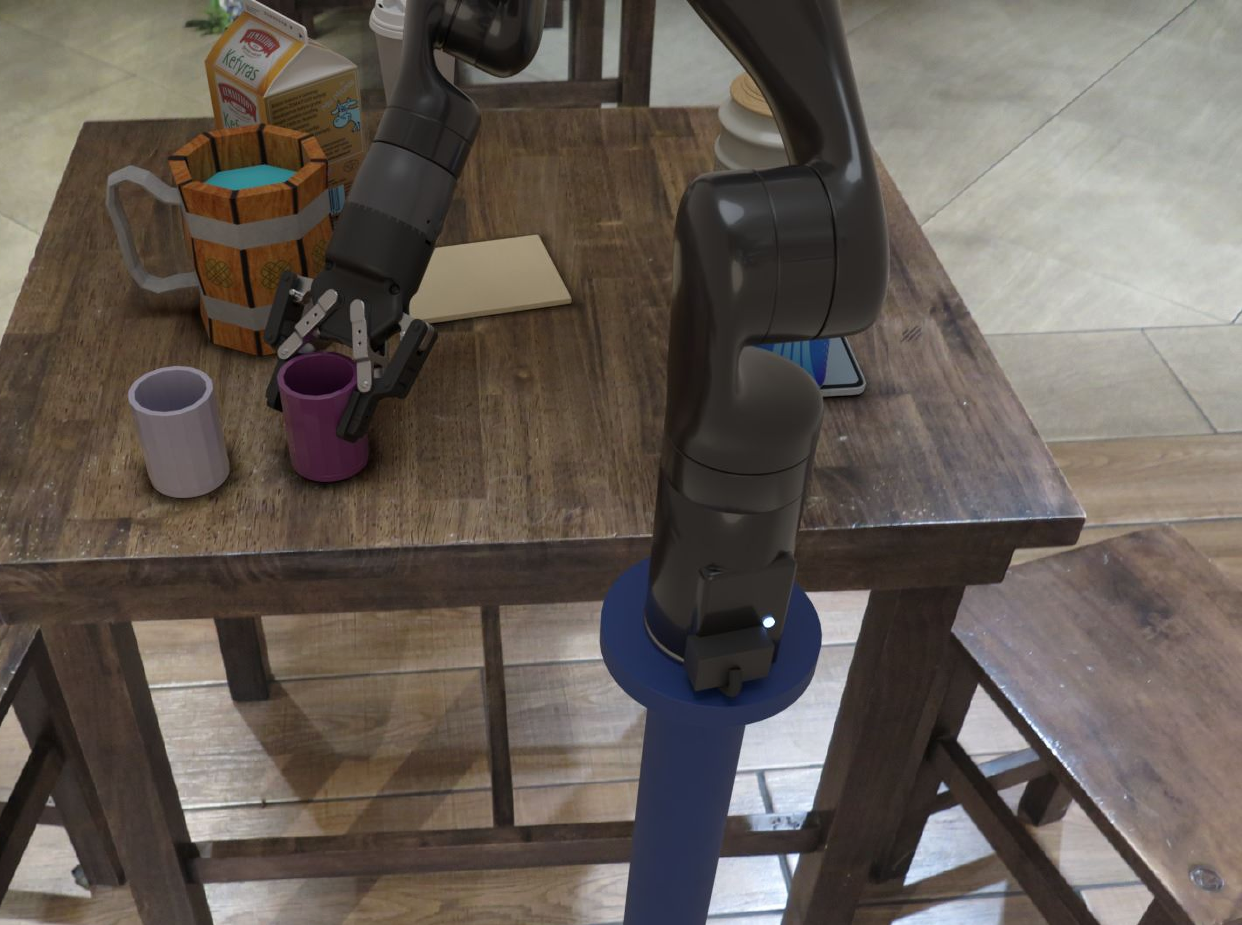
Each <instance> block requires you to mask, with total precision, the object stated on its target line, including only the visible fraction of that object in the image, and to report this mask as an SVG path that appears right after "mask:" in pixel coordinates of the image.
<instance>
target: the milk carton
mask: <svg viewBox="0 0 1242 925" xmlns="http://www.w3.org/2000/svg"><path fill="white" fill-rule="evenodd" d="M242 3H243V9H244V10H243V11H242V13H241V14H240V15H239V16H238V17H237V18H235V20H234V21H233V22H232V23H231V24H230V25H229V26H228V27H227V29H225V31H224V32H223V33H222V34H221V36H220V37H219V38H218V39H217V40H216V42H215V43H214V45H213V46H212V48H211V49H210V51H209V53H208V54H207V56H206V57H205V59H204V67H205V73H206V80H207V84H208V90H209V95H210V100H211V108H212V113H213V118H214V124H215V131H216V130H222V129H229V128H235V127H241V126H247V125H254V124H260V123H264V124H268V125H273V126H278V127H282V128H287V129H291V130H296V131H300V132H305V133H309V134H313V135H314V137H315V138H316V140H317V142H318V144H319V145H320V147H321V149H322V151H323V153H324V154H325V156H326V158H327V160H328V195H329V203H330V212H331V217H332V218H334V217H337V216H339V215H340V213H341V210H342V208H343V205H344V203H345V200H346V198H347V195H348V193H349V190H350V188H351V185H352V183H353V180H354V178H355V175H356V173H357V171H358V168H359V167H360V165H361V163H362V161H363V159H364V158H365V156H366V154H367V152H366V143H365V142H366V141H365V133H364V132H365V131H364V120H363V110H362V100H361V88H360V76H359V67H358V66H357V65H356V64H355V63H354V62H352V61H351V60H350V59H349V58H347V57H345V56H343V55H342V54H340V53H338V52H337V51H334V50H333V49H331V48H329V47H327V46H325V45H323V44H321V43H320V42H318V41H316V40H314V39H312V38H311V37H309V35H308V30H307V28H306V26H304V25H302V24H300V23H299V22H297V21H295V20H293V19H291V18H289V17H287V16H285V15H283V14H282V13H280V12H278V11H276V10H275V9H272V8H271V7H269V6H267V5H265V4H264V3H261V2H259V1H257V0H242Z"/></svg>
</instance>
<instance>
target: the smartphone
mask: <svg viewBox="0 0 1242 925" xmlns="http://www.w3.org/2000/svg"><path fill="white" fill-rule="evenodd" d="M848 340H849V339H848V338H847V336H846V337H840V338H831V339H830V344H829V352H828V360H827V368H826V376H825V380H824V383H823V385H822V386H821V388H820V390H821V393H822V396H823V397H837V396H838V397H839V396H840V397H841V396H856V395H860V394H862V393H863V392H864V391H865V389H866V385H867V381H866V379H865V376H864V374H863V372H862V369H861V367H860V365H859V363H858V361H857V358H856V356H855V354H854V351H853V349H852V346H851V345H850V342H849V341H848Z"/></svg>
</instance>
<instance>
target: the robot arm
mask: <svg viewBox="0 0 1242 925" xmlns="http://www.w3.org/2000/svg"><path fill="white" fill-rule="evenodd" d="M686 2H687V3H688V5H689V6H690V7H691V8H692V10H693V11H694V12H695V13H696V14H697V16H698V17H699V18H700V19H701V21H702V23H704V24H705V26H707V27H708V29H709V30H710V31H711V32H712V34H713V35H714V36H715V37H716V38H717V39H718V40H719V42H720V43H721V44H722V45H723V46H724V47H725V48H726V50H727V51H728V52H729V53H730V54H731V55H732V56H733V58H734V59H735V60H736V61H737V62H738V63H739V65H741V67H742V68H743V70H744V72H747V73H748V75H749V76H750V77H751V78H752V80H753V81H754V83H755V84H756V86H757V87H758V89H759V90H760V92H761V93H762V95H763V97H764V99H765V101H766V102H767V104H768V106H769V108H770V110H771V113H772V115H773V117H774V119H775V122H776V124H777V127H778V130H779V133H780V135H781V138H782V142H783V145H784V148H785V151H786V154H787V158H788V162H789V165H787V166H774V167H761V168H749V169H736V170H724V171H715V172H713V171H709V172H705V173H701V174H699V175H697V176H696V177H694V178H693V179H692V180H691V181H690V182H689V184H688V185H687V186H686V188H685V190H684V191H683V194H682V196H681V197H680V201H679V205H678V208H677V211H676V218H675V224H674V230H673V244H672V258H671V259H672V262H671V264H672V265H671V298H670V299H671V300H670V301H671V303H670V321H669V322H670V324H669V337H668V349H667V362H666V363H667V364H666V401H665V411H664V420H663V421H664V422H663V431H662V441H661V451H660V457H659V468H658V479H657V487H656V497H655V506H654V510H655V511H654V518H653V527H652V538H651V548H650V556H649V557H650V566H649V576H648V589H647V599H646V602H645V606H644V613H643V623H644V628H645V631H646V634H647V636H648V638H649V640H650V641H651V643H652V644H653V645H654V646H655V648H656V649H657V650H658V651H659V652H660V653H662V654H663V655H664V656H665V657H667V658H668V659H670V660H672V661H673V662H675V663H677V664H679V665H681V666H684V669H685V671H686V673H687V675H688V677H689V679H690V682H691V684H692V686H693V688H694V690H695V691H699V690H704V689H709V688H714V687H717V688H718V690H719V691H721V692H722V693H724V694H725V695H727V696H730V697H734V696H736V695H738V694H739V692H740V690H741V686H742V682H744V681H749V680H754V679H759V678H764V677H768V675H769V670H770V666H771V664H772V663H775V662H776V661H777V656H778V652H779V647H780V643H781V638H782V633H783V629H784V624H785V619H786V615H787V610H788V605H789V601H790V596H791V592H792V587H793V582H795V577H796V573H797V568H798V561H797V559H796V558H795V551H796V546H797V543H798V542H797V541H798V537H799V532H800V528H801V527H800V526H801V523H802V522H801V521H802V517H803V513H804V508H805V504H806V498H807V492H808V488H809V484H810V481H811V475H812V471H813V466H814V460H815V457H816V451H817V447H818V443H819V440H820V434H821V430H822V429H821V428H822V426H823V420H824V413H825V405H824V396H822V393H821V390H820V388H819V386H818V385H817V383H816V381H815V380H814V379H813V377H812V376H811V375H810V374H809V373H808V372H807V371H806V370H805V369H803V368H802V367H801V366H800V365H798V364H797V363H795V362H793V361H792V360H790V359H788V358H786V357H784V356H782V355H780V354H777V353H774V352H772V351H769V350H766V349H762V348H759V347H755V346H758V345H769V344H780V343H790V342H801V341H811V340H822V339H831V338H840V337H846V338H847V337H850V336H854V335H855V336H856V335H858V334H859V335H860V334H862V333H863V332H866V331H867V330H868V329H870V328H871V327H873V325H874V324H875V323H876V321H877V320H878V319H879V317H880V315H881V314H882V311H883V308H884V306H885V303H886V298H887V295H888V290H889V284H890V268H891V267H890V266H891V264H890V261H891V260H890V259H891V258H890V256H891V254H890V252H891V250H890V236H889V228H888V222H887V214H886V213H887V212H886V207H885V202H884V196H883V192H882V187H881V182H880V178H879V173H878V169H877V165H876V160H875V156H874V151H873V147H872V143H871V139H870V135H869V131H868V127H867V123H866V122H867V121H866V117H865V114H864V109H863V105H862V102H861V96H860V93H859V89H858V85H857V84H858V83H857V80H856V76H855V71H854V68H853V63H852V58H851V54H850V49H849V44H848V39H847V34H846V29H845V28H846V27H845V22H844V17H843V9H842V4H841V3H842V2H841V0H686ZM547 4H548V0H406V7H405V18H404V29H403V40H402V47H401V54H400V60H399V65H398V70H397V75H396V78H395V82H394V85H393V89H392V92H391V95H390V98H389V100H388V103H386V106H385V110H384V111H383V114H382V116H381V119H380V121H379V124H378V127H377V129H376V132H375V134H374V136H373V140H372V143H371V145H370V146H369V148H368V151H367V152H366V156H365V158H364V159H363V161H362V163H361V165H360V167H359V168H358V171H357V173H356V175H355V178H354V180H353V183H352V185H351V188H350V190H349V193H348V195H347V198H346V200H345V203H344V205H343V208H342V210H341V213H340V214H339V215H338V219H337V220H336V224H335V226H334V231H333V233H332V236H331V238H330V241H329V243H328V246H327V248H326V251H325V266H324V268H323V269H322V271H321V272H320V273H319V274H318V275H317V276H316V277H315V278H314V279H311V278H306V277H302V276H300V275H298V274H296V273H294V272H293V271H291V270H285V271H283V272H282V274H281V277H280V280H279V283H278V287H277V290H276V294H275V297H274V301H273V304H272V308H271V311H270V314H269V318H268V321H267V325H266V328H265V332H264V335H263V340H264V342H265V343H266V344H268V345H270V346H271V347H272V348H273V349H274V350H275V351H276V353H275V354H277V362H276V365H275V367H274V369H273V372H272V375H271V377H270V380H269V383H268V385H267V387H266V390H265V398H266V399H267V400H266V406H267V407H268V408H269V409H272V410H274V411H277V412H280V413H282V414H283V411H282V405H281V399H280V393H279V387H278V381H277V375H278V373H279V371H280V368H281V367H282V366H283V365H284V364H285V363H287V362H288V361H289V360H290V359H292V358H294V357H297V356H299V355H302V354H306V353H310V352H317V351H325V350H326V349H327V348H330V346H331V345H332V344H333V343H335V344H339V345H343V346H347V347H348V348H351V349H352V357H353V358H352V359H353V360H354V361H355V362H356V365H357V387H358V391H357V392H356V391H354V390H352V393H351V395H350V398H349V401H348V403H347V405H346V408H345V410H344V413H343V415H342V418H341V420H340V423H339V425H338V428H337V430H336V436H337V437H338V438H340V439H343V440H345V441H348V442H351V443H356V442H357V440H358V438H362V437H363V436H364V435H365V434H366V432H367V433H368V429H369V426H370V424H371V422H372V420H373V417H374V415H375V412H376V410H377V408H378V405H379V403H380V402H381V401H382V400H385V399H395V398H396V399H397V400H404V399H406V398H407V397H408V395H410V394H409V393H410V392H411V389H412V388H413V386H414V384H415V383H416V380H417V378H418V376H419V374H420V372H421V371H422V369H423V367H424V365H425V363H426V361H427V359H428V357H429V355H430V353H431V352H432V350H433V347H434V346H435V344H436V343H437V340H438V338H439V331H438V330H437V328H436V327H434V326H433V325H431V323H429V324H428V323H426V322H425V321H422V320H420V319H415V318H413V317H411V316H410V311H409V306H410V301H411V299H412V297H413V296H414V295H415V294H416V293H417V292H418V289H419V287H420V284H421V282H422V279H423V277H424V274H425V272H426V269H427V267H428V264H429V262H430V259H431V257H432V254H433V252H434V249H435V248H437V245H438V242H439V239H440V237H441V235H442V233H443V231H444V227H445V225H446V223H447V220H448V217H449V214H450V211H451V208H452V205H453V200H454V197H455V192H456V189H457V186H458V182H459V181H460V178H461V176H462V174H463V171H464V169H465V166H466V163H467V161H468V159H469V156H470V153H471V151H472V149H473V146H474V144H475V140H476V139H477V136H478V134H479V131H480V127H481V123H482V114H481V110H480V108H479V106H478V105H477V103H475V101H474V100H473V99H472V98H471V97H470V96H468V95H467V94H466V93H465V92H464V91H462V90H461V89H460V88H459V87H457V86H456V85H455V84H454V85H453V84H452V83H451V82H450V81H449V80H448V79H446V78H445V77H444V75H443V74H442V73H441V72H440V71H439V69H438V67H437V64H436V61H435V57H434V50H435V49H437V50H441V49H442V52H444V53H446V54H448V55H450V56H452V57H455V59H457V60H459V61H461V62H463V63H464V64H467V65H469V66H471V67H473V68H475V69H477V70H479V71H481V72H483V73H486V74H488V75H490V76H492V77H495V78H499V79H508V78H512V77H514V76H516V75H519V74H520V73H521V72H523V71H524V70H526V69H527V67H529V65H530V64H531V63H532V61H534V59H535V57H536V55H537V53H538V50H539V48H540V45H541V41H542V38H543V33H544V27H545V22H546V14H547V13H546V12H547ZM311 296H312V300H313V306H314V307H313V308H312V309H311V310H310V311H309V312H308V313H307V314H306V315H305V316H304V317H303V318H302V319H301V317H302V314H303V310H304V307H305V305H306V304H309V303H310V302H311V299H310V298H311ZM317 328H318V331H317V330H316V329H317ZM398 333H399V341H400V342H399V345H398V346H397V348H396V349H395V352H394V354H393V356H392V357H391V359H390V347H389V345H390V344H389V339H391V338H393V336H395V335H396V334H398Z"/></svg>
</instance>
